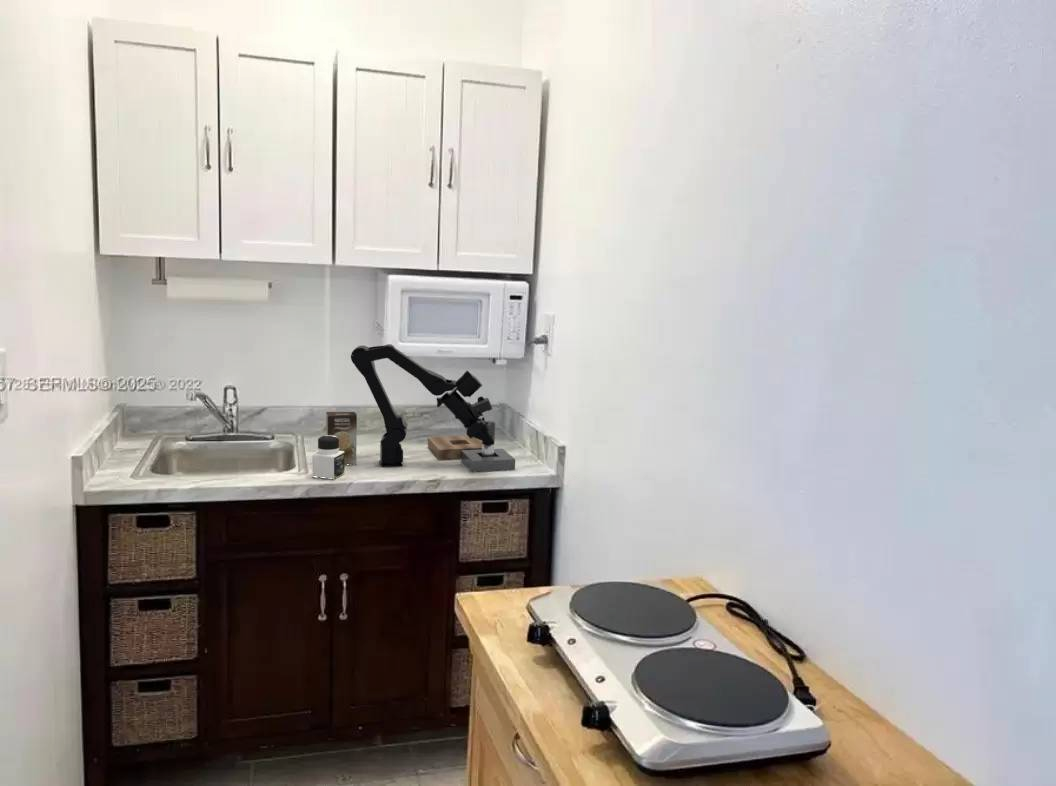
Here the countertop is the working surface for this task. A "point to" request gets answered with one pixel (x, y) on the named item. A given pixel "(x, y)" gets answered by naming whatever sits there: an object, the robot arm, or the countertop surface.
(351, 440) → the coffee box
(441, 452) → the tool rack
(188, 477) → the countertop surface
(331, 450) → the medicine bottle
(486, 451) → the dark rounded cylinder
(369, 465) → the countertop surface
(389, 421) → the robot arm
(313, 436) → the countertop surface
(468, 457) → the socket block
